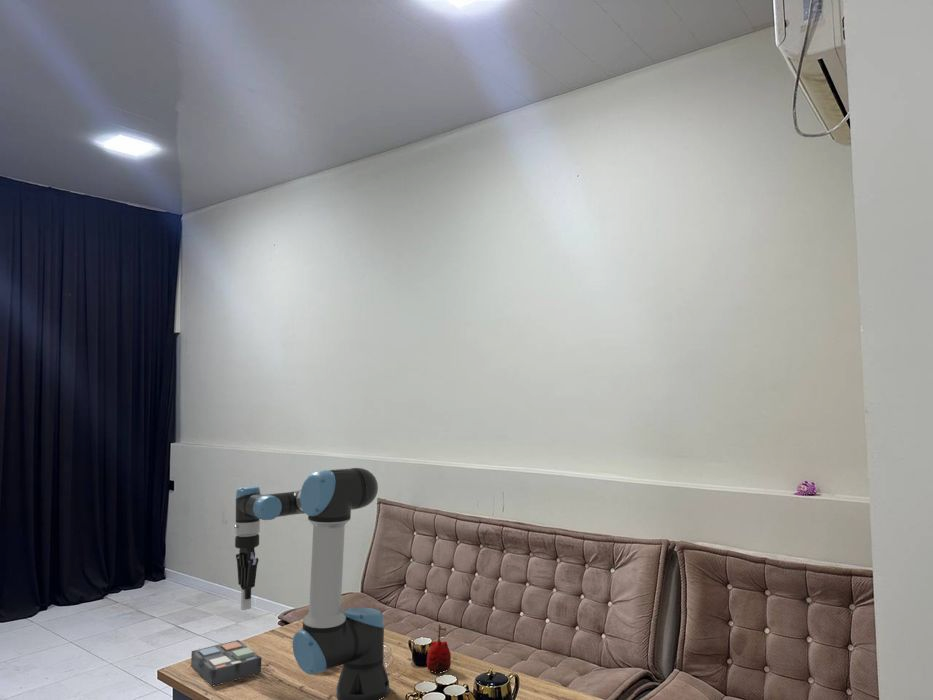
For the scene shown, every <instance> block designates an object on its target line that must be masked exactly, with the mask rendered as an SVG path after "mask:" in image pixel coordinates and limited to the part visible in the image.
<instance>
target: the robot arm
mask: <svg viewBox="0 0 933 700" xmlns="http://www.w3.org/2000/svg"><path fill="white" fill-rule="evenodd" d="M378 490H379V485H378V480H377V479H376V477H375V475H374V474H373V472H371V471H369V470H368V469H365V468H363V467H351V468H350V467H349V468H339V469H337V468H336V469H324V470H321V471H320V470H319V471H314V472H312V473H311V474H309V475H308V476H307V478H305V480H304V481H303V483H302V486H301V489H300V490H296V491H290V492H289V491H288V492H278V493H269V494H267V493H266V494H261V489H260V487H259V486H256V485H255V486H253V485H252V486H241V487H237V490H236V492H235V493H236V494H235V499H234V500H235V525H234V530H235V531H234V532H235V535H236V536H235V537H234V547H235V548H236V549H238V550H239V552H238V553H236V554H235V559H236V566H237V569H236V571H237V581H238V582H237V583H238V585H239V586H240V589H241V592H240V593H241V595H240V596H241V599H240V609H241V610H242V611H247V610H250V609H252V589H253V588H255V586H256V576H257V570H258V563H259V558H258V557H256V552H255V550H256V549H255V548H257V547H259V545H260V534H259V533H260V531H261V530H260V528H261V527H260V520H263V521H271V520H275V519H276V518H279V517H280V518H281V517H287V516H293V515H301V514H303V515H304V514H305V515H306V516H307V520H308V521H309V523H310V524H311V525H312V543H311V545H312V548H311V561H310V562H311V565H310V566H311V567H310V586H309V601H308V603H309V604H308V606H309V607H308V611H309V612H308V613H307V614H306V615H305V616H304V617H303V619H302V629H299V630H297V631H296V632H295V634H294V636H293V638H292V651H293V656H294V658H295V661H296V663H297V665H298V666H299V668H300V669H301V670H302V671H303V672H304V673H306V674H307V675H316V674H319V673H324V672H326V671H329V670H330V669H334V668H336V667H340V666H342V668H341V672H340V674H339V678H338V681H337V685H336V689H335V690H336V691H335V692H336V694H335V695H336V698H337V699H338V700H379V699H381V698H383V697H385V696H386V695H387V694H388V693H389V694H390V680H389V677H388V674H387V670H386V667H385V662H384V656H385V655H384V645H385V644H384V642H385V641H384V640H385V637H384V635H385V621H384V615H383V612H382V611H380V610H378V609H375V608H373V607H372V608H370V607H359V606H357V607H348V608H345V610H344V611H343V612H341V611H342V610H341V609H342V594H343V593H342V592H343V588H342V587H343V570H344V569H343V567H344V551H345V550H344V549H345V546H344V545H345V530H346V529H345V526H346V525H347V523H349V521H351V517H352V516H351V515H352V510H358V509H362V508H365V507H367V506H369V505H370V504H372V502H374V500H375V499H376V497H377V494H378ZM389 694H388V695H389ZM388 695H387V696H388ZM387 696H386V697H387ZM386 697H385V698H386ZM383 699H384V698H383Z"/></svg>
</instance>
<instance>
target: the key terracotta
mask: <svg viewBox="0 0 933 700" xmlns="http://www.w3.org/2000/svg"><path fill="white" fill-rule="evenodd" d="M231 642H232V641H231ZM227 643H228V642H227ZM221 648H222V649H223V650H224V651H226V652H227V651H231V650H235V649H239V648H242V645H240V644H239V643H238V642H232V643H228V644H224V645H221Z"/></svg>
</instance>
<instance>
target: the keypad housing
mask: <svg viewBox="0 0 933 700" xmlns="http://www.w3.org/2000/svg"><path fill="white" fill-rule="evenodd" d="M232 642H238V643H239V644H240V645H242V648H239V649H243V648H247V647H248V646H247V645H246V644H245V643H243V642H242V641H241V640H239V639H236V640H232V641H229V642H228V641H227V642H224V643H220V644H216V645H211V646H208V647H204V648H203V647H202V648H198V649H194V650H191V659H190V661H191V662H190V665H191V667H192V668H193V669H194V670H195V671H196V673H197V674H198V675H200V677H201V678H202V679H203V680H204V681H205V682H207V684H208V683H209V684H210V685H211V686H212V687H214V686H213V685H216V686H219V685H222V684H221V683H223V684H226V683H229V682H228V681H230V682H233V681H236V680H235V679H237V680H240V679H239V678H241V679H243V677H244V678H247V677H246V676H248V677H251V676H254V675H253V674H255V675H258V674H261V673H262V657H261V656H260V655H259V654H257V653H256V652H255V651H253V652H254V657H250V658H247V659H244V660H239V661H236V660H235V659H234V658H233V657H232V651H235V650H239V649H235V650H231V651H227V652H226V651H224V650H223V649H222V648H221V645H224V644H228V643H232ZM212 647H216V648H217V649H218V650H219V651H220V653H219V654H215V655H211V656H207V657H202V656H201V655H200V654H199V650H203V649H207V648H212ZM223 656H226V657H228V658H229V659H230V660H231V663H229V664H224V665H220V666H216V667H213V666H212V665H211V664H210V663H209V660H211V659H215V658H219V657H223ZM250 675H251V676H250ZM232 680H233V681H232ZM225 682H226V683H225ZM209 684H208V685H209ZM218 684H219V685H218ZM211 686H210V687H211Z"/></svg>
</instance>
